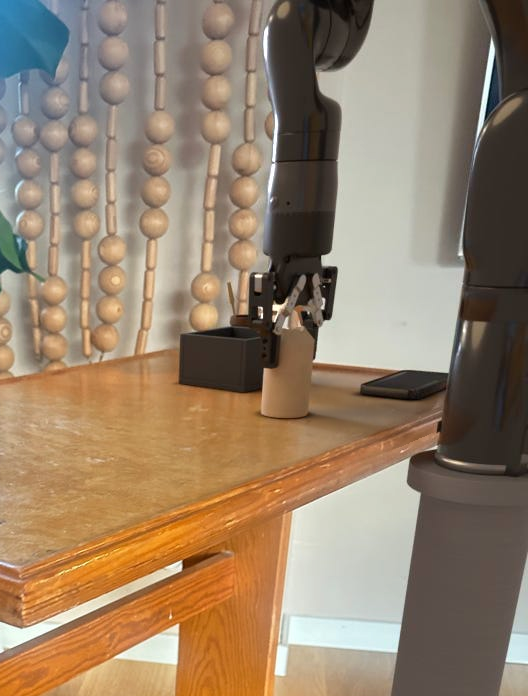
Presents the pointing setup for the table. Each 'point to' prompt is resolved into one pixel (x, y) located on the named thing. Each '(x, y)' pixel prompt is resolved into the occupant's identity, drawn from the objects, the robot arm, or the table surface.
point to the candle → (289, 376)
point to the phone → (406, 384)
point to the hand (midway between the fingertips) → (287, 363)
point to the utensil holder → (235, 319)
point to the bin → (221, 359)
